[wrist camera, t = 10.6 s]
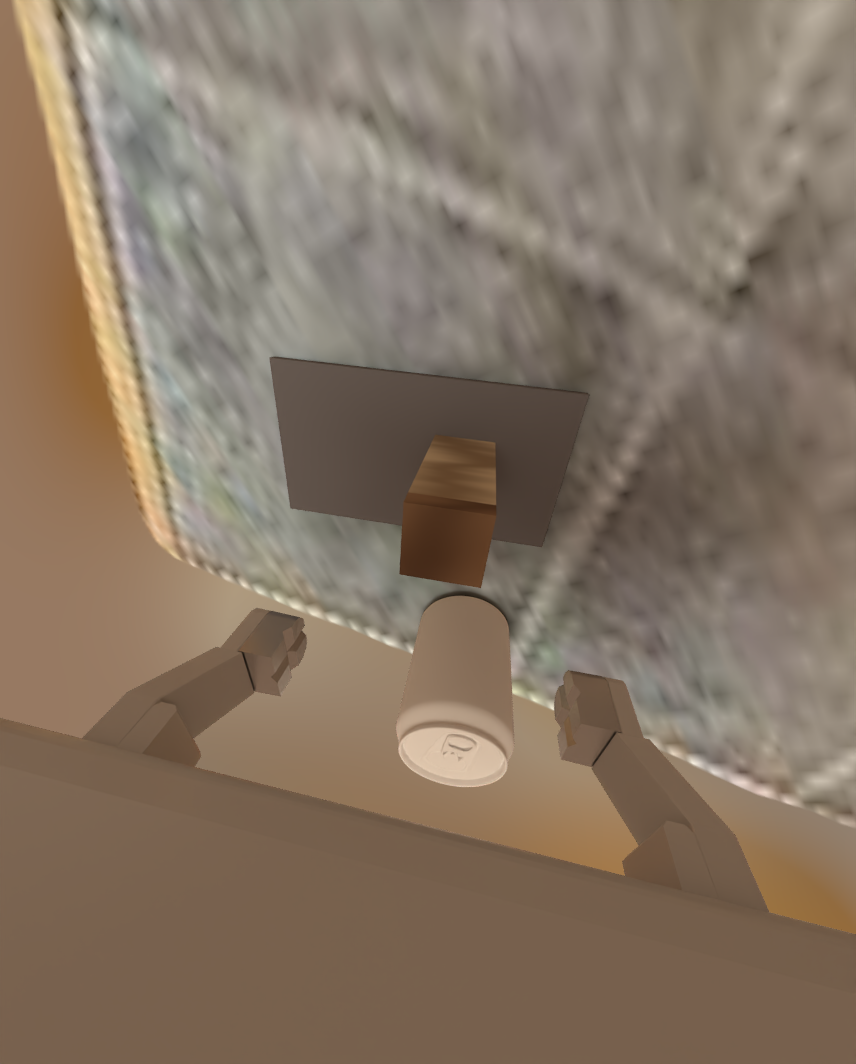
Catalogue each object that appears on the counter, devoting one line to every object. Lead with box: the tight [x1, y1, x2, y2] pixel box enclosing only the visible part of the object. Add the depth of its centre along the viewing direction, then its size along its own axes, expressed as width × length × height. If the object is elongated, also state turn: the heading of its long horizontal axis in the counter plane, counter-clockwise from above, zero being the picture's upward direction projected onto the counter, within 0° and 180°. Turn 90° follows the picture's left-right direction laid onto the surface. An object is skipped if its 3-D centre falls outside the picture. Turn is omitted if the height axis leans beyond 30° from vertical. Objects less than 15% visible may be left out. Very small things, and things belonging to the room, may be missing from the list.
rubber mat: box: [270, 357, 589, 547], centre depth 25 cm, size 20×11×1 cm, turn 85°
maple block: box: [400, 435, 496, 588], centre depth 20 cm, size 4×4×10 cm
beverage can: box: [396, 596, 514, 787], centre depth 28 cm, size 8×8×12 cm
